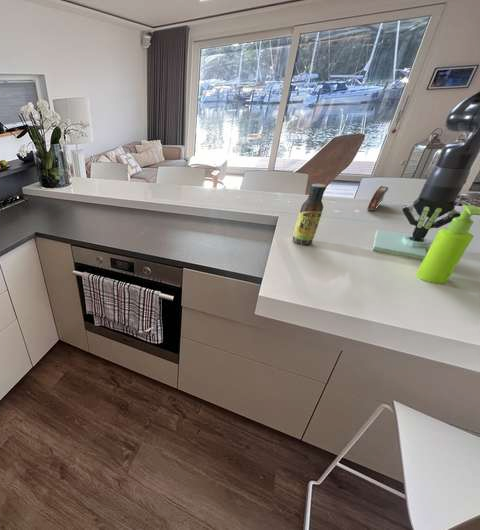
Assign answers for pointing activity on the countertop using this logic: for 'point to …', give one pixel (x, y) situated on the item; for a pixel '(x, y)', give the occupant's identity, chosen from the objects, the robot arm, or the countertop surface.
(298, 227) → the sauce bottle
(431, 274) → the soap dispenser
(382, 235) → the scale
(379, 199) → the tin
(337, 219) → the countertop surface
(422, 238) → the tare button
